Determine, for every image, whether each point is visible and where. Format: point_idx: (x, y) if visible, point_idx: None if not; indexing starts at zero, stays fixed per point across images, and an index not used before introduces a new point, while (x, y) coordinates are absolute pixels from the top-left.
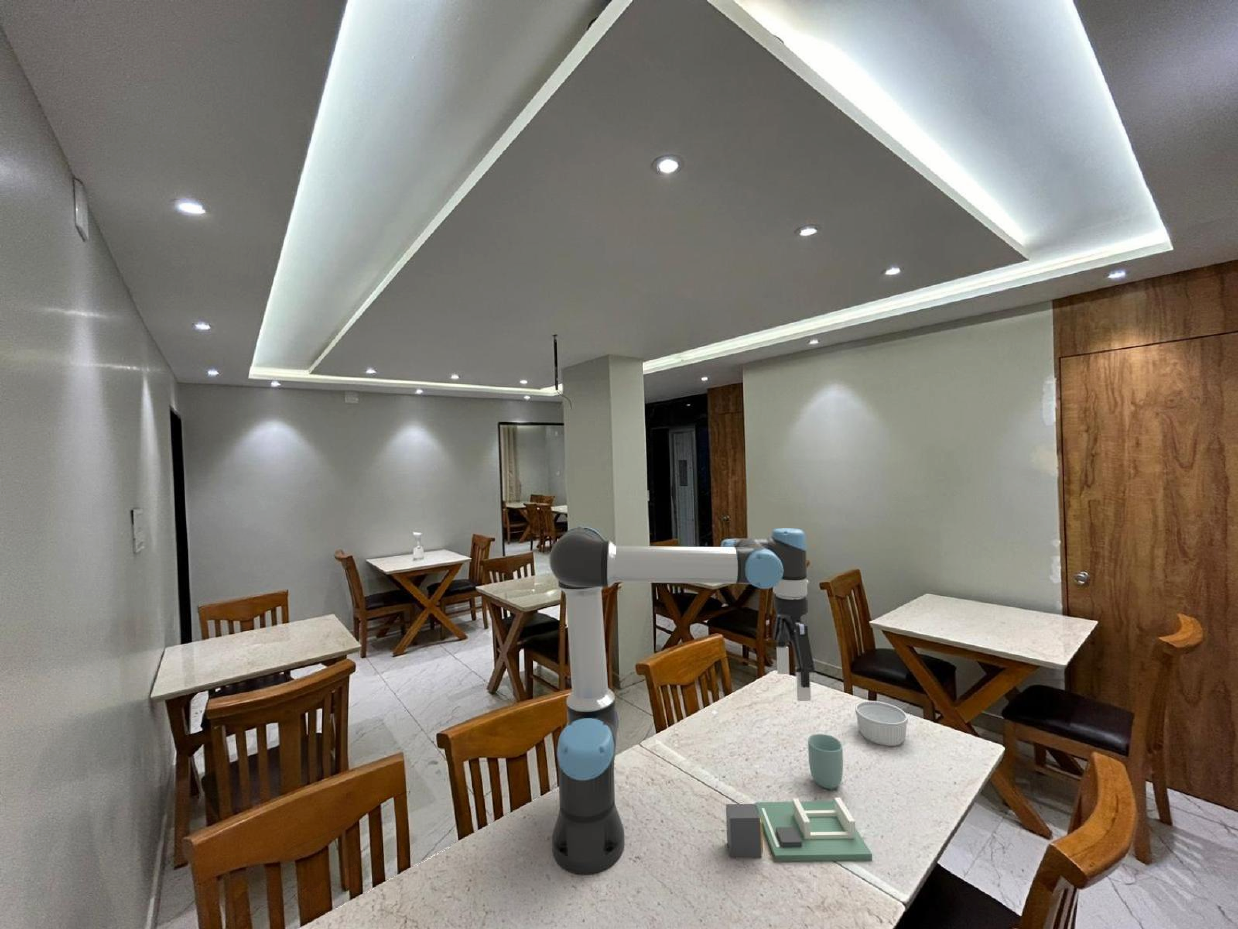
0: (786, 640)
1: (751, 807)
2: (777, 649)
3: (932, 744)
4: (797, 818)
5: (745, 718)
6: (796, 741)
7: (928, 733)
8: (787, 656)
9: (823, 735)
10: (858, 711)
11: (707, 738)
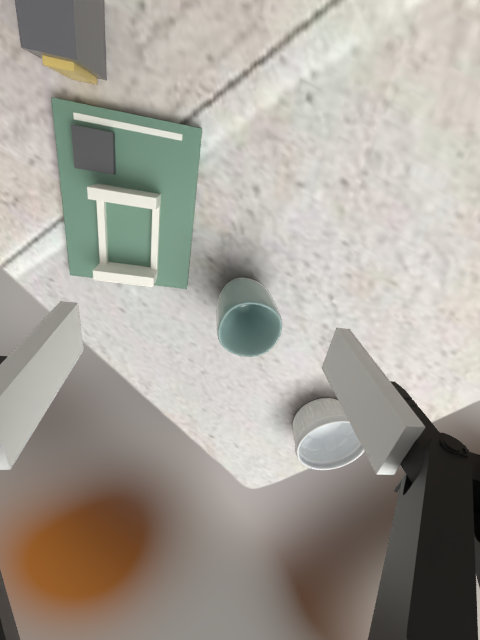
0: (397, 522)
1: (59, 40)
2: (401, 417)
3: (283, 454)
4: (133, 191)
5: (465, 243)
6: (356, 303)
7: None
8: (355, 424)
9: (275, 339)
10: None
11: (449, 117)
